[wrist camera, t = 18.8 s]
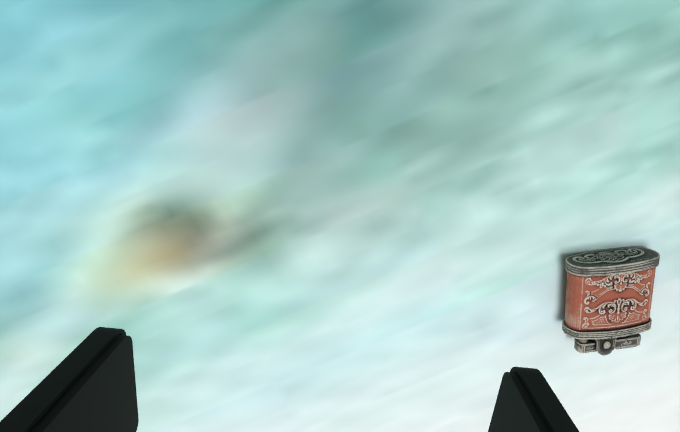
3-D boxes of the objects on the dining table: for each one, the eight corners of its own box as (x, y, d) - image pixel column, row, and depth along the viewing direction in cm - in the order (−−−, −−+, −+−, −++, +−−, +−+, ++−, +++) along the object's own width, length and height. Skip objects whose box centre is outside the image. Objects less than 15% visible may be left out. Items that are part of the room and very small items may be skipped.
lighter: (557, 255, 39) (554, 344, 42) (579, 271, 36) (573, 366, 39) (641, 244, 39) (631, 333, 42) (670, 258, 36) (657, 354, 39)
